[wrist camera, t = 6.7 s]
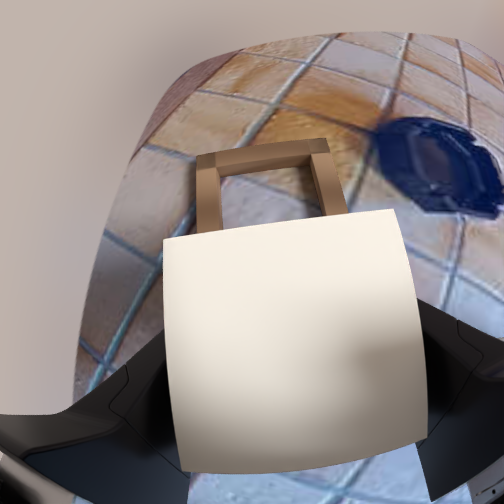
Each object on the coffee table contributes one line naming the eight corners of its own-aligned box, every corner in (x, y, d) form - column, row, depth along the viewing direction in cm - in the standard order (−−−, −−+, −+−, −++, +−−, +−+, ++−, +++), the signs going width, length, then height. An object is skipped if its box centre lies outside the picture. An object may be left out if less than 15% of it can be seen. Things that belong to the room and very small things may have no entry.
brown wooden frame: (358, 286, 18) (364, 282, 17) (206, 307, 19) (200, 304, 17) (323, 148, 22) (325, 137, 20) (201, 166, 23) (196, 155, 21)
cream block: (342, 384, 13) (426, 437, 4) (245, 397, 14) (181, 470, 4) (331, 291, 15) (393, 208, 6) (236, 303, 16) (163, 238, 6)
